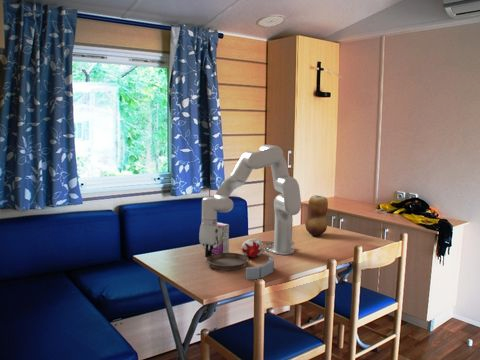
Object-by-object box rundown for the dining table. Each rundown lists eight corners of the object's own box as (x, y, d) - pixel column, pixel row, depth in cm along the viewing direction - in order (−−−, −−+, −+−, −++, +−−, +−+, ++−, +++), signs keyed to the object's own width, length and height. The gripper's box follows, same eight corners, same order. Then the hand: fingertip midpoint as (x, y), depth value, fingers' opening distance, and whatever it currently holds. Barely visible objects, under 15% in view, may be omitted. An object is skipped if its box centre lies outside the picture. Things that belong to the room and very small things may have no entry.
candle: (259, 250, 235) (265, 263, 220) (238, 251, 233) (243, 263, 218) (260, 235, 232) (266, 246, 218) (239, 235, 230) (244, 247, 216)
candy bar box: (207, 252, 232) (207, 222, 230) (213, 250, 236) (213, 220, 233) (222, 256, 225) (223, 226, 222) (229, 254, 229) (229, 224, 226)
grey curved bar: (269, 266, 211) (269, 256, 211) (278, 268, 208) (279, 258, 208) (244, 279, 194) (244, 268, 193) (254, 281, 191) (254, 270, 190)
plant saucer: (198, 263, 214) (198, 256, 214) (231, 255, 227) (231, 249, 227) (222, 275, 198) (222, 268, 198) (257, 266, 211) (257, 260, 210)
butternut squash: (326, 238, 263) (328, 198, 260) (303, 237, 266) (305, 197, 263) (326, 233, 276) (328, 194, 273) (305, 231, 279) (307, 193, 276)
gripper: (225, 222, 216) (224, 258, 218) (202, 218, 224) (202, 252, 227) (215, 225, 210) (215, 262, 212) (193, 220, 218) (192, 255, 221)
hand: (208, 257), depth 219 cm, fingers closed
